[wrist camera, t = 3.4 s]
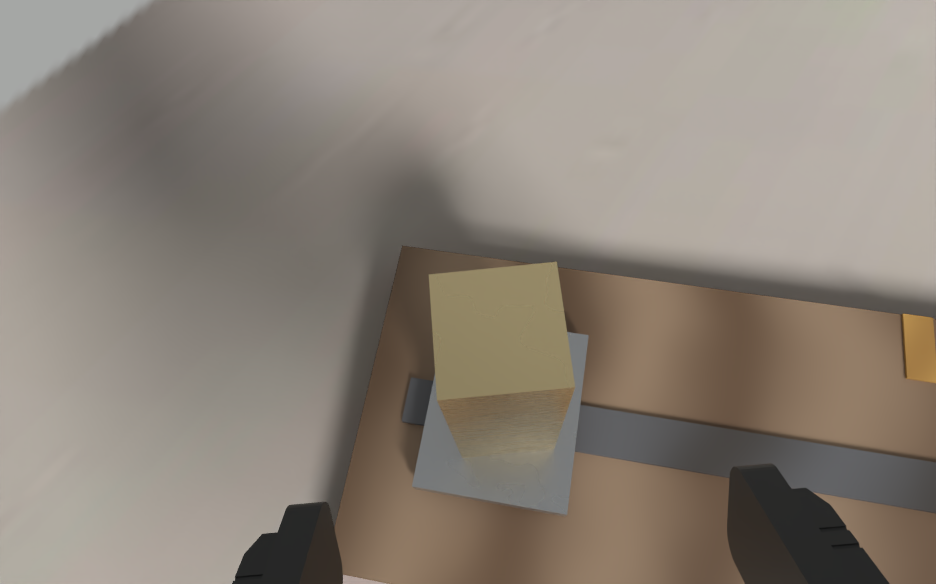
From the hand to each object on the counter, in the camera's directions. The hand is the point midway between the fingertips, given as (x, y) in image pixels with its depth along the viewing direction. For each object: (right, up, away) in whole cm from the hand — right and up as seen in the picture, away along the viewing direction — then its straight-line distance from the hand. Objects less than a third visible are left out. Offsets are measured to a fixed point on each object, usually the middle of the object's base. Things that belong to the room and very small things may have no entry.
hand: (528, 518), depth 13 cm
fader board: (+7, -2, +11) cm, 13 cm away
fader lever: (0, 0, +10) cm, 10 cm away
